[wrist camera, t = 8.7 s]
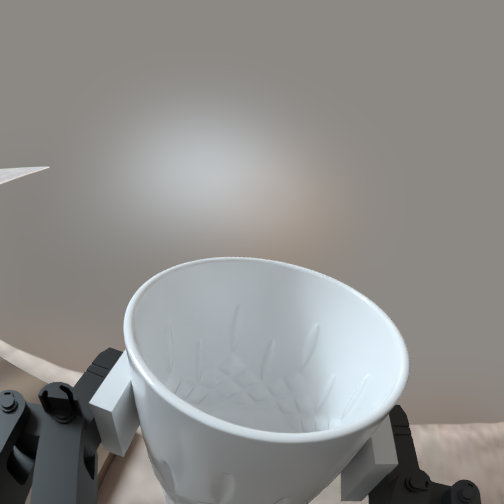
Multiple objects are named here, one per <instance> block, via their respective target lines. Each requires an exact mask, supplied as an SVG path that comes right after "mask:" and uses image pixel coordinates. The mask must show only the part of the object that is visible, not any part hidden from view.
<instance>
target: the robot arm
mask: <svg viewBox="0 0 504 504" xmlns="http://www.w3.org/2000/svg"><path fill="white" fill-rule="evenodd" d="M38 397H39V399H40V402H41V404H42V405H40V404H34V403H29V402H26V401H25V399H24V397H23V396H22V394H20V393H19V392H18V391H15V390H4V391H2V392H0V504H25V502H26V499H27V497H28V494H29V492H30V489H31V487H32V490H31V500H30V504H97V478H98V453H97V449H98V447H99V445H100V443H101V442H102V445H103V448H104V450H106V451H109V452H111V453H114V454H116V455H119V456H121V457H124V455H125V453H126V451H127V449H128V447H129V445H130V443H131V441H132V439H133V437H134V435H135V433H136V431H137V429H138V427H139V425H140V422H139V417H138V412H137V407H136V402H135V397H134V392H133V387H132V382H131V376H130V370H129V364H128V358H127V352H126V350H125V351H124V352H121V351H118V350H115V349H113V348H108V349H107V350H105V351H103V352H101V353H100V354H99V355H98V356H97V357H96V359H95V360H94V361H93V362H92V365H90V366H89V368H88V369H87V371H86V372H85V373H84V374H83V375H82V377H81V378H80V379H79V381H78V382H77V383H76V385H75V386H74V387H71V386H70V385H69V384H66V383H62V382H53V383H50V384H47V385H46V386H44V387H43V388H42V389H41V390H40V392H39V394H38ZM367 495H369V504H481V498H480V493H479V490H478V488H477V486H476V485H475V484H474V483H473V482H471V481H469V480H459V481H458V482H456V483H455V484H454V485H452V486H448V485H443V484H439V483H435V482H432V481H431V480H430V477H429V476H428V475H427V474H426V473H425V472H424V471H422V470H420V468H419V465H418V461H417V456H416V452H415V447H414V443H413V439H412V436H411V430H410V428H409V423H408V419H407V415H406V413H405V412H404V411H403V409H402V408H401V406H400V405H395V406H394V407H393V409H392V410H391V411H390V413H389V414H388V415H387V417H386V418H385V419H384V421H383V422H382V423H381V425H380V426H379V427H378V428H377V430H376V431H375V432H374V433H373V435H372V436H371V437H370V438H369V440H368V441H367V442H366V443H365V445H364V446H363V447H362V448H361V449H360V451H359V452H358V453H357V454H356V455H355V457H354V458H353V459H352V460H351V461H350V462H349V464H348V465H347V466H346V467H345V468H344V469H343V470H342V471H341V501H362V500H363V499H364V498H365V497H366V496H367Z"/></svg>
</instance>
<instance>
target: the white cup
mask: <svg viewBox="0 0 504 504" xmlns="http://www.w3.org/2000/svg"><path fill="white" fill-rule="evenodd" d="M124 338H125V345H126V352H127V358H128V364H129V370H130V376H131V382H132V387H133V392H134V397H135V402H136V407H137V412H138V417H139V422H140V427H141V431H142V435H143V439H144V442H145V445H146V448H147V452H148V456H149V459H150V462H151V464H152V468H153V471H154V474H155V476H156V478H157V480H158V481H159V482H160V485H161V488H162V491H163V493H164V496H165V499H166V501H167V504H308V503H310V502H311V501H312V500H313V499H314V498H315V497H316V496H317V495H318V494H319V493H320V492H321V491H322V490H323V489H324V488H326V487H327V486H328V485H329V484H330V483H331V482H332V481H333V480H334V479H335V478H336V477H337V476H338V475H339V474H340V472H341V471H342V470H343V469H344V468H345V467H346V466H347V465H348V464H349V462H350V461H351V460H352V459H353V458H354V457H355V455H356V454H357V453H358V452H359V451H360V449H361V448H362V447H363V446H364V445H365V443H366V442H367V441H368V440H369V438H370V437H371V436H372V435H373V433H374V432H375V431H376V430H377V428H378V427H379V426H380V425H381V423H382V422H383V421H384V419H385V418H386V417H387V415H388V414H389V413H390V411H391V410H392V409H393V407H394V406H395V404H396V403H397V402H398V400H399V399H400V397H401V395H402V394H403V392H404V390H405V387H406V385H407V381H408V378H409V371H410V360H409V354H408V349H407V346H406V343H405V341H404V339H403V337H402V335H401V333H400V331H399V330H398V328H397V327H396V325H395V324H394V322H393V321H392V320H391V319H390V318H389V317H388V316H387V314H386V313H385V312H384V311H383V310H381V308H380V307H378V306H377V305H376V304H375V303H374V302H372V301H371V300H370V299H369V298H367V297H366V296H364V295H363V294H361V293H360V292H358V291H356V290H355V289H353V288H351V287H350V286H348V285H346V284H344V283H342V282H340V281H338V280H336V279H334V278H331V277H329V276H327V275H324V274H322V273H319V272H316V271H313V270H310V269H307V268H304V267H300V266H296V265H293V264H288V263H284V262H279V261H274V260H267V259H259V258H248V257H247V258H246V257H219V258H208V259H201V260H195V261H191V262H187V263H183V264H180V265H177V266H174V267H171V268H169V269H167V270H165V271H162V272H160V273H159V274H157V275H155V276H154V277H152V278H151V279H149V280H148V281H147V282H145V283H144V284H143V285H142V286H141V287H140V288H139V289H138V290H137V292H136V293H135V294H134V296H133V297H132V299H131V300H130V302H129V304H128V307H127V310H126V313H125V317H124Z"/></svg>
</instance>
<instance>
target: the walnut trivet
mask: <svg viewBox="0 0 504 504" xmlns="http://www.w3.org/2000/svg"><path fill="white" fill-rule="evenodd" d="M46 385H47V383H46V382H44V381H42V380H40V379H38V378H36V377H34V376H32V375H31V374H29V373H27V372H25V371H23V370H22V369H20V368H18V367H16V366H15V365H13V364H11V363H10V362H8V361H6V360H5V359H3V358H1V357H0V392H2V391H4V390H15V391H18V392H19V393H20V394H22V396H23V397H24V399H25V401H26V402H29V403H34V404H40V405H42V404H41V402H40V399H39V397H38V394H39V392H40V390H41V389H42V388H43V387H44V386H46ZM97 453H98V478H97V490H98V488H99V486H100V484H101V482H102V480H103V478H104V477H105V475H106V473H107V471H108V469H109V467H110V465H111V463H112V461H113V459H114V457H115V455H116V454H114V453H111V452H109V451H106V450H104V448H103V445H102V442H101V443H100V445H99V447H98V449H97ZM31 490H32V487H31V489H30V492H29V494H28V497H27V499H26V502H25V504H30V500H31Z"/></svg>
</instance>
